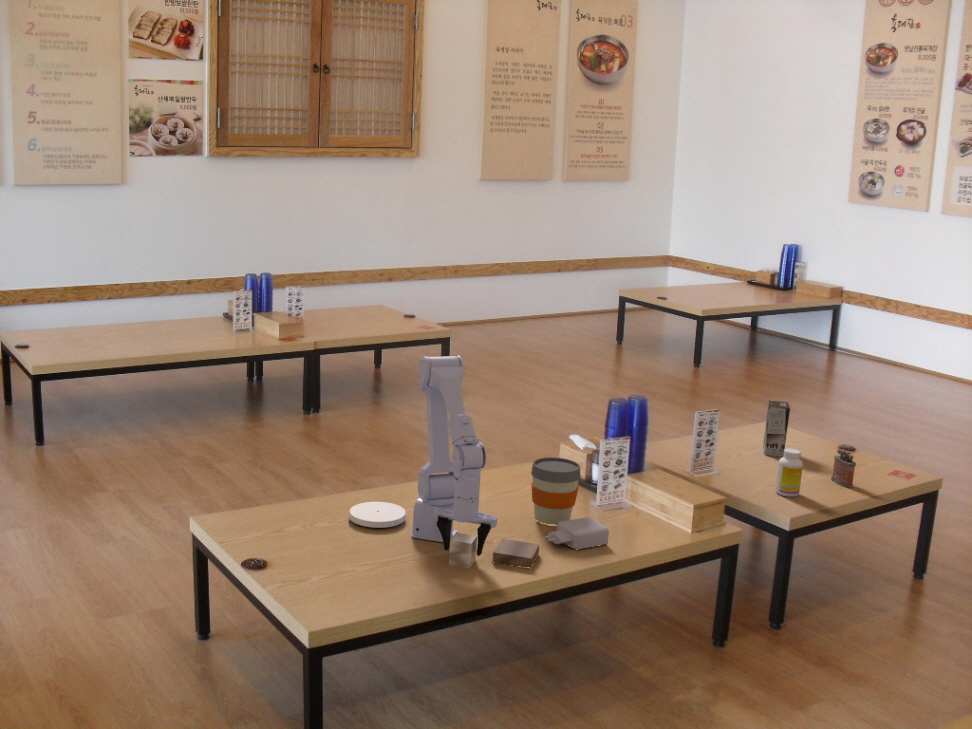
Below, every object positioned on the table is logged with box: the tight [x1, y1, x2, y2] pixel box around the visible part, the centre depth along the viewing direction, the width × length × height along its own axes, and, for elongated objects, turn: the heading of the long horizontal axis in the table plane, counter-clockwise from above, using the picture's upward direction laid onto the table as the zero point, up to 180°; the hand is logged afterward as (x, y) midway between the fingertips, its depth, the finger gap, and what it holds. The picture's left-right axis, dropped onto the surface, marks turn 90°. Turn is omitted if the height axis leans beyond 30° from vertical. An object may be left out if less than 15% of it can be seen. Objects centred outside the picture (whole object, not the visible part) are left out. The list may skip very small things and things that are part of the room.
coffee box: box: [762, 400, 791, 458], centre depth 350 cm, size 9×6×16 cm
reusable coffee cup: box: [530, 456, 581, 525], centre depth 278 cm, size 13×13×15 cm
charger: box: [544, 516, 610, 550], centre depth 264 cm, size 5×9×15 cm
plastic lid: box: [348, 501, 407, 529], centre depth 272 cm, size 14×14×2 cm
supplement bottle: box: [775, 448, 804, 498], centre depth 310 cm, size 7×7×13 cm
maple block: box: [448, 532, 478, 569], centre depth 249 cm, size 5×5×6 cm
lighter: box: [830, 448, 857, 489], centre depth 323 cm, size 8×3×10 cm, turn 22°
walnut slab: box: [492, 538, 540, 569], centre depth 253 cm, size 9×9×3 cm
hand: (463, 551), depth 249 cm, fingers open, 7 cm apart
